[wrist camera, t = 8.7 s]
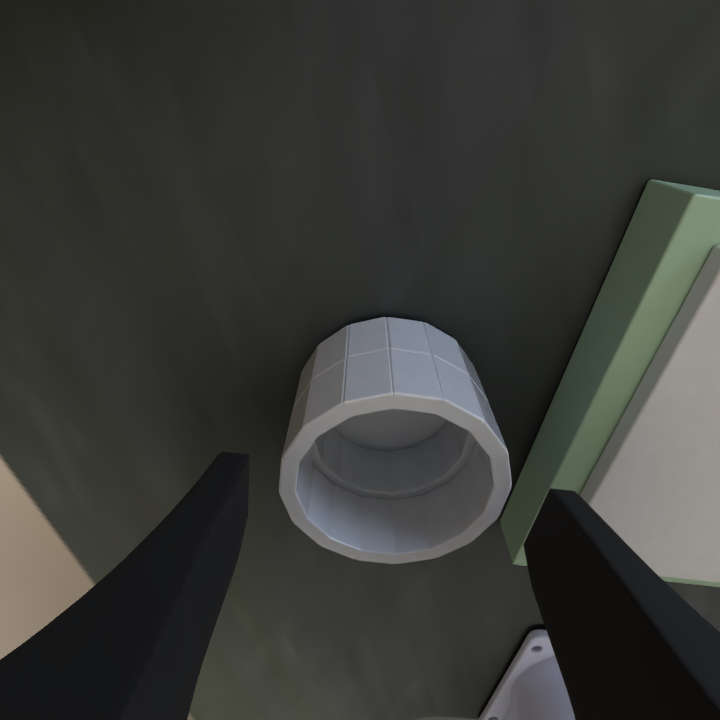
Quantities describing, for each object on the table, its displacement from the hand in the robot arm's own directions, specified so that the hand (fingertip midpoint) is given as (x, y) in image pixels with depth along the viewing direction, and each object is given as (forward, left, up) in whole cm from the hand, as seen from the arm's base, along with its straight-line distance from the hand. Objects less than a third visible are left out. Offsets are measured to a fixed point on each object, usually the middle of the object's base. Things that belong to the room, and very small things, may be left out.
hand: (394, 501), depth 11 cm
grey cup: (0, 0, -5) cm, 5 cm away
